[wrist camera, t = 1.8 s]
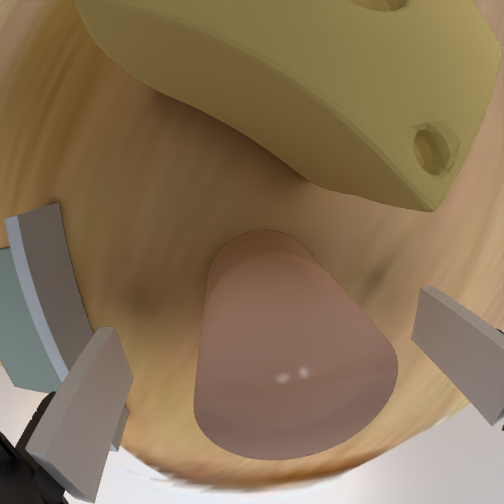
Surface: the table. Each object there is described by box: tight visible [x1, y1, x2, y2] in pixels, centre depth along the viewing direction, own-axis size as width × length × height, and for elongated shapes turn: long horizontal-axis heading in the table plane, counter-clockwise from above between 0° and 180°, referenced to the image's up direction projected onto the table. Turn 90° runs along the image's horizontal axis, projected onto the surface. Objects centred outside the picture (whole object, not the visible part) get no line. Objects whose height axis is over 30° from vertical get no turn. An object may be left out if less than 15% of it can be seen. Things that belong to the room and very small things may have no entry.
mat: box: [0, 247, 62, 394], centre depth 15 cm, size 12×9×1 cm
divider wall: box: [5, 203, 129, 452], centre depth 14 cm, size 16×1×4 cm, turn 5°
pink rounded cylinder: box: [194, 230, 398, 460], centre depth 11 cm, size 6×6×9 cm
